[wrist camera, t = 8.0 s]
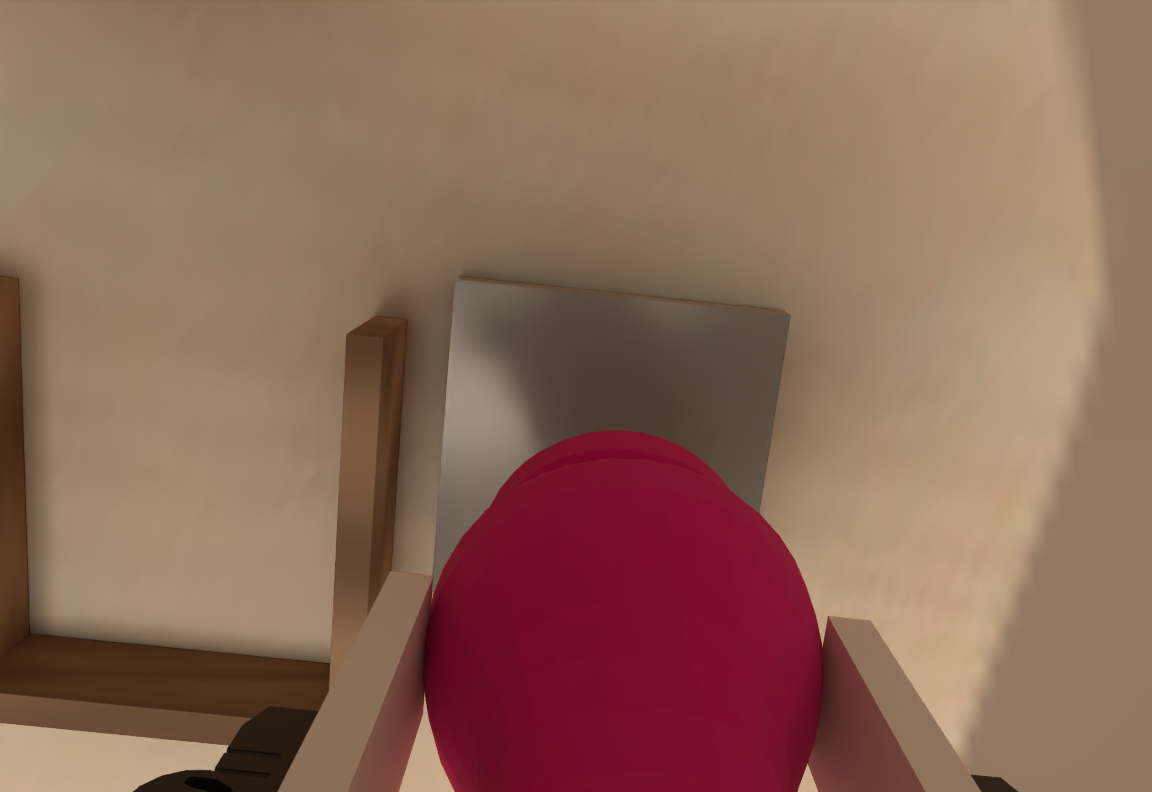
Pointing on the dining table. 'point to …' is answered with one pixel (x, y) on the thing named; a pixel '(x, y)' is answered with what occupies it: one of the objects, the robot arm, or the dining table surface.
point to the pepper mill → (622, 632)
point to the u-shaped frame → (187, 677)
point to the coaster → (599, 385)
